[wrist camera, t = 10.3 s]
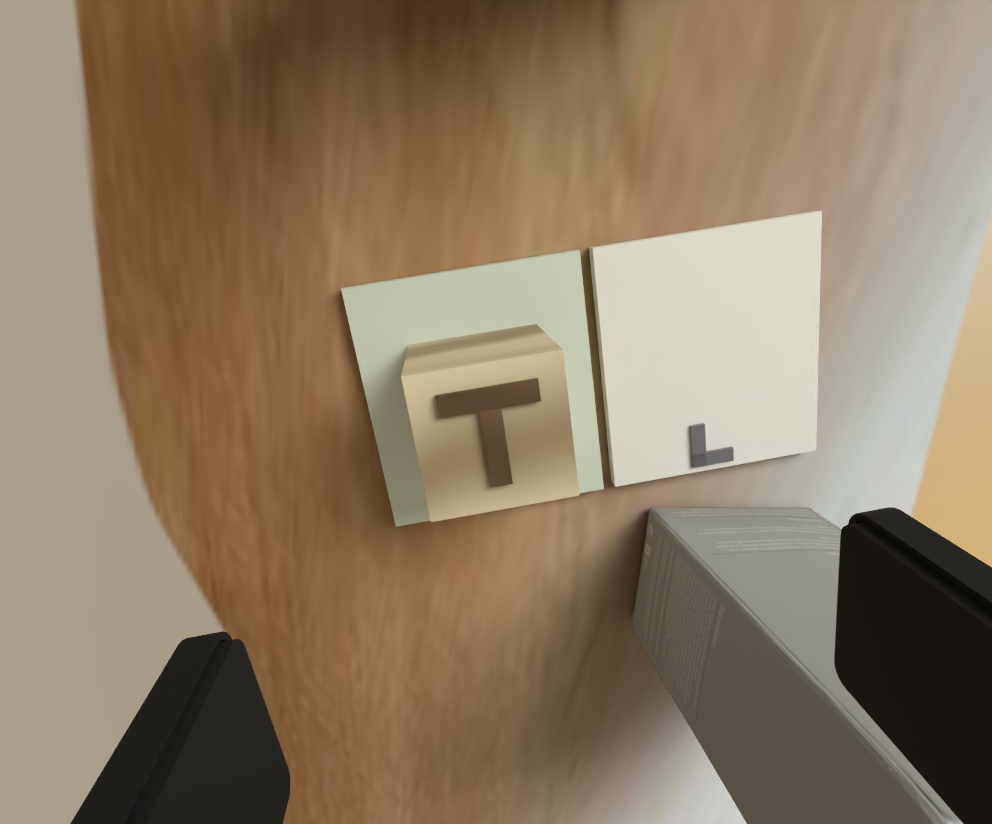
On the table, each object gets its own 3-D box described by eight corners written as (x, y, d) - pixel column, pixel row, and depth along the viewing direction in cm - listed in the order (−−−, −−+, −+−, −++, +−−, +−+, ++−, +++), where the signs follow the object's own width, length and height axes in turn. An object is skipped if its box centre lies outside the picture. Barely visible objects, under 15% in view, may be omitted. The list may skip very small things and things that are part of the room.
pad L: (588, 247, 23) (593, 248, 22) (812, 211, 23) (824, 210, 22) (611, 481, 26) (616, 488, 25) (807, 445, 26) (818, 451, 25)
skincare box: (625, 621, 28) (844, 1075, 13) (649, 485, 26) (941, 839, 11) (790, 622, 29) (1168, 1045, 14) (826, 491, 27) (1315, 824, 12)
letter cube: (408, 344, 22) (400, 378, 18) (536, 323, 23) (564, 350, 18) (432, 468, 24) (432, 531, 19) (552, 447, 24) (581, 504, 19)
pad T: (343, 287, 22) (340, 289, 21) (576, 249, 23) (580, 250, 22) (396, 519, 25) (395, 528, 25) (600, 483, 26) (605, 490, 25)
